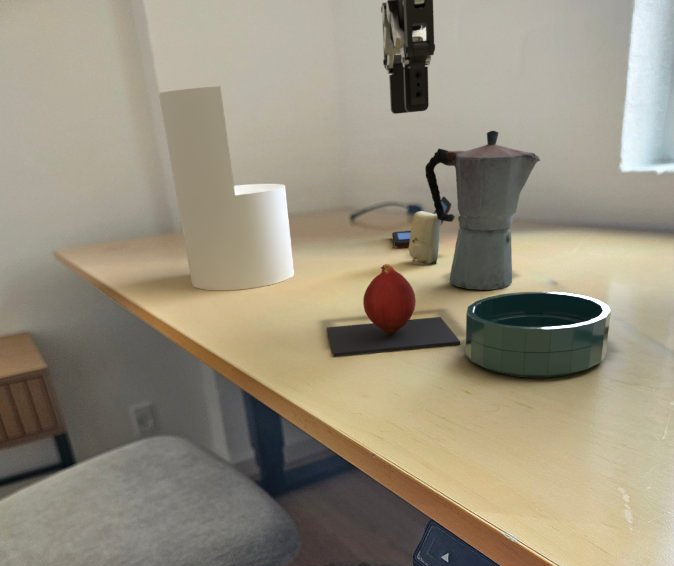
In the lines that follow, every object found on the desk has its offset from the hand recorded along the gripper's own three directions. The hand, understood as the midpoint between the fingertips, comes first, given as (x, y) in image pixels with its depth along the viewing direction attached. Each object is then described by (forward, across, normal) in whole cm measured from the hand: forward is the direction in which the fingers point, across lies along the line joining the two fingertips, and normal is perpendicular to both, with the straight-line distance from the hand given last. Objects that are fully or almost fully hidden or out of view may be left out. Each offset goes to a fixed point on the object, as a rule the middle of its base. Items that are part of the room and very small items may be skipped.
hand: (408, 112), depth 68 cm
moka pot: (+23, +19, -13) cm, 33 cm away
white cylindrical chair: (+23, +38, +22) cm, 49 cm away
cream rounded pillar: (+23, +37, -9) cm, 44 cm away
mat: (+23, -2, +3) cm, 23 cm away
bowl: (+23, -13, -10) cm, 28 cm away
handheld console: (+23, +57, -12) cm, 62 cm away
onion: (+23, -2, +3) cm, 23 cm away
